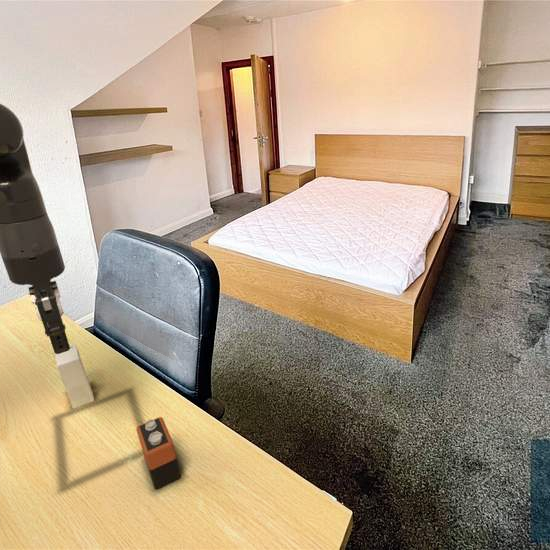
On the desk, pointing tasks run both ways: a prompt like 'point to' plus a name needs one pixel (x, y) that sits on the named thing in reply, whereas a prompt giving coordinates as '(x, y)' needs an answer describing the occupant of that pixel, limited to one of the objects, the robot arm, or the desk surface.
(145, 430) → the battery
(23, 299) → the desk surface
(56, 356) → the cosmetic box
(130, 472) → the desk surface
